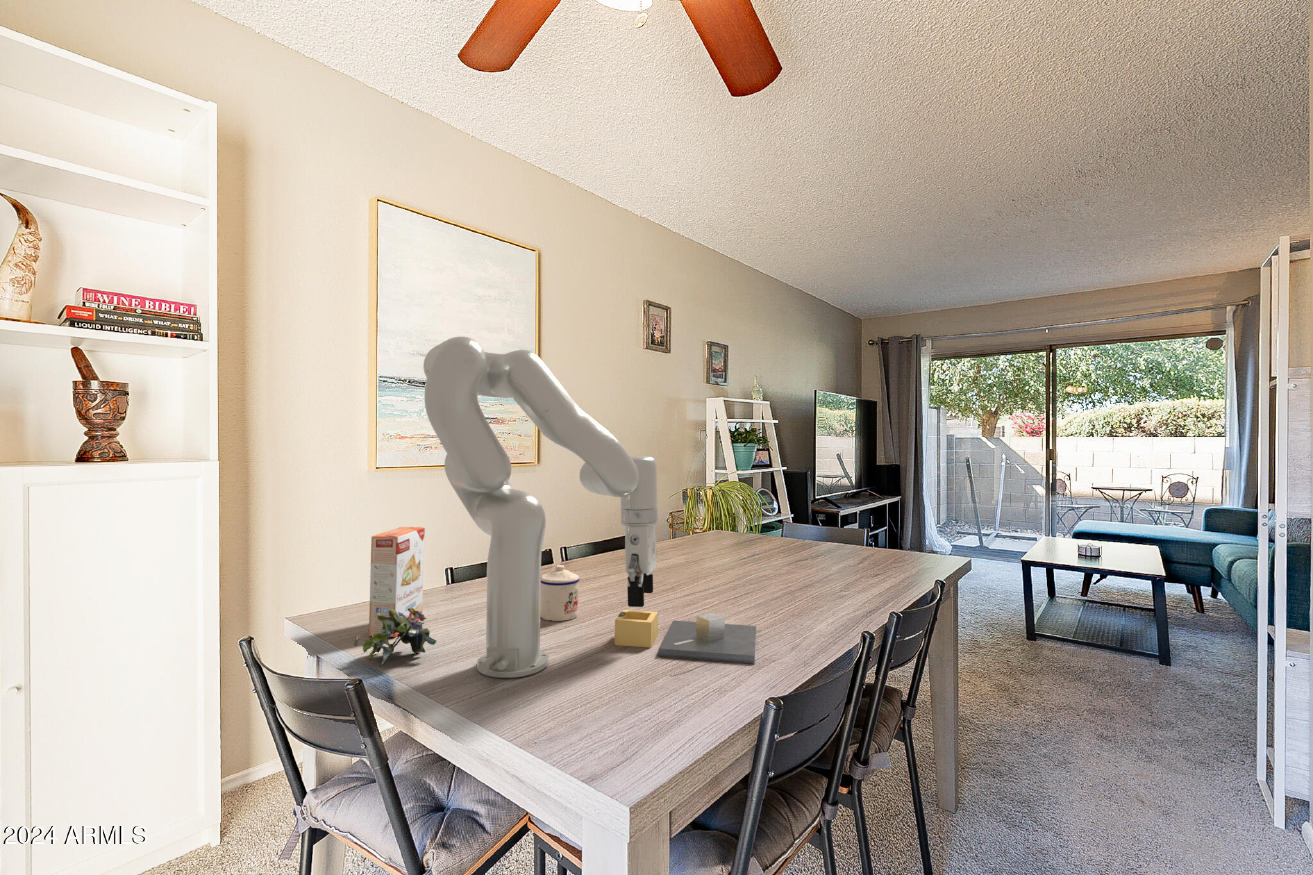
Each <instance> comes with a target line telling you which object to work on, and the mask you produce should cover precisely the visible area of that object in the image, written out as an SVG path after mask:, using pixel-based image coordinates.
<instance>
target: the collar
mask: <svg viewBox="0 0 1313 875" xmlns="http://www.w3.org/2000/svg"><path fill="white" fill-rule="evenodd" d="M658 612H659V611H650V610H649V611H647V610H633V609H623V610H622V611H620V612H619V614H618V615H617V617H616V618H615V619H614V645H615V646H622V647H623V646H624V647H637V648H650V649H651V648H652V647H653V645H654V643H655V641H656V639H657V638H658V637H659V636H658V634H659V632H658V631H659V630H658V626H659V624H658V623H659V613H658Z"/></svg>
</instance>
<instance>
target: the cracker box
mask: <svg viewBox="0 0 1313 875" xmlns="http://www.w3.org/2000/svg"><path fill="white" fill-rule="evenodd" d="M425 529H426V528H425V527H423V526H422V527H420V526H400V527H398V528H394V529H390V530H388V531H384V532H381V533H377V534H374V535H372V536H371V541H370V542H371V543H370V576H369V577H370V579H369V580H370V581H369V585H370V586H369V611H368V612H369V613H368V614H369V617H368V637H369V636H374V635H375V634H378V633H379V634H381V631H382V627H383V623H382V621H380V620H379V619H378V617H377V614H378V613H379V614H380V615H381V616H385V617H390V616H389V611H390V610H394V611H396V612H397V613H398V612H400V613H403V615H405V616H406V618H407V617H409V618H414V616H413V614H411V613H410V612H409V611H408V608H414V609H415V610H416V611H420V613H421V614H423V601H424V600H423V598H424V561H425V532H426V531H425ZM398 614H399V613H398ZM417 620H419V618H417V619H415V621H417ZM419 621H420V620H419ZM384 634H385V633H384ZM384 634H382V635H384ZM398 634H399V633H398V632H396V633H394V634H392V635H390V636H389V637H395V636H396V637H398ZM396 637H395V638H396Z"/></svg>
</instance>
